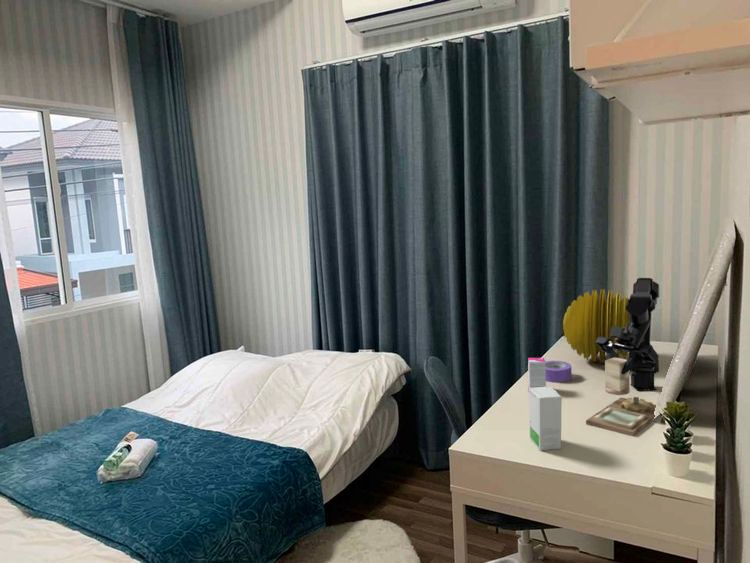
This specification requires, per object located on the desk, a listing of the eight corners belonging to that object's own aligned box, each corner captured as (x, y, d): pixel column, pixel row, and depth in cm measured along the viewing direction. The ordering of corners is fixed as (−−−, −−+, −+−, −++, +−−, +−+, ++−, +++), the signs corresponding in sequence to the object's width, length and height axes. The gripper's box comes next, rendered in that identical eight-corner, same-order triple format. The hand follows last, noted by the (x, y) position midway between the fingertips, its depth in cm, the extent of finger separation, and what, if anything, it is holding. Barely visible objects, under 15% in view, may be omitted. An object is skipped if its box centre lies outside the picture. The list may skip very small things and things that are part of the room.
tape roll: (567, 384, 205) (567, 371, 204) (535, 381, 211) (535, 368, 210) (574, 374, 215) (574, 362, 214) (543, 371, 221) (543, 359, 220)
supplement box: (546, 393, 197) (545, 361, 195) (529, 393, 198) (528, 362, 197) (545, 387, 203) (544, 357, 201) (528, 387, 204) (527, 357, 202)
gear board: (621, 400, 185) (620, 388, 185) (665, 410, 175) (665, 397, 174) (586, 424, 169) (585, 410, 169) (632, 436, 159) (632, 422, 158)
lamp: (643, 376, 206) (643, 296, 202) (559, 371, 220) (557, 295, 215) (644, 354, 233) (644, 282, 229) (568, 350, 246) (567, 282, 242)
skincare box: (529, 439, 162) (527, 387, 160) (551, 436, 163) (550, 385, 160) (540, 451, 154) (538, 397, 152) (563, 449, 154) (562, 395, 152)
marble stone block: (614, 385, 180) (613, 355, 179) (634, 391, 174) (634, 360, 173) (600, 390, 177) (600, 360, 175) (620, 396, 171) (620, 365, 169)
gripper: (598, 312, 182) (577, 352, 178) (653, 320, 166) (631, 364, 162) (613, 331, 187) (593, 370, 183) (668, 341, 172) (647, 384, 168)
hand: (614, 371), depth 174 cm, fingers closed on marble stone block, 5 cm apart
